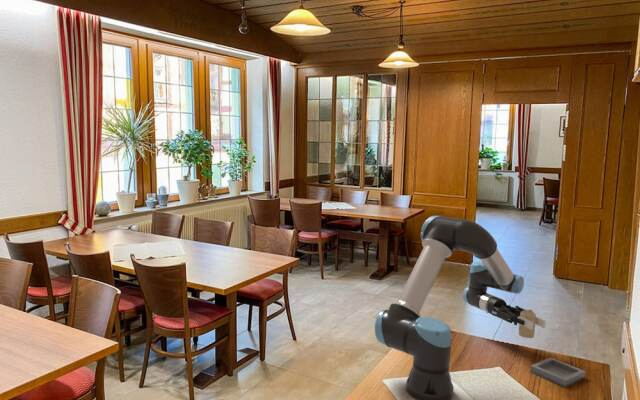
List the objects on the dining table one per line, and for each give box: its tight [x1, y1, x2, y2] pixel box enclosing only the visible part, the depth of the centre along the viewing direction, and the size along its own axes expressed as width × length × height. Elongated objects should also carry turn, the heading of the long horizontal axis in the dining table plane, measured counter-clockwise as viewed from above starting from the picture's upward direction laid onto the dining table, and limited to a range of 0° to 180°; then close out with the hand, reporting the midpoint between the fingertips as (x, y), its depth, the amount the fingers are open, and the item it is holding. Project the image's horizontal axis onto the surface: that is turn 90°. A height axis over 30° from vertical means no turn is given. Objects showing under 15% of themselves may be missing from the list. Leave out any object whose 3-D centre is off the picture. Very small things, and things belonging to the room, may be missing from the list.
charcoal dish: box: [529, 357, 587, 389], centre depth 173 cm, size 13×13×2 cm
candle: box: [518, 309, 537, 339], centre depth 185 cm, size 6×6×10 cm
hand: (538, 325), depth 180 cm, fingers closed on candle, 5 cm apart
